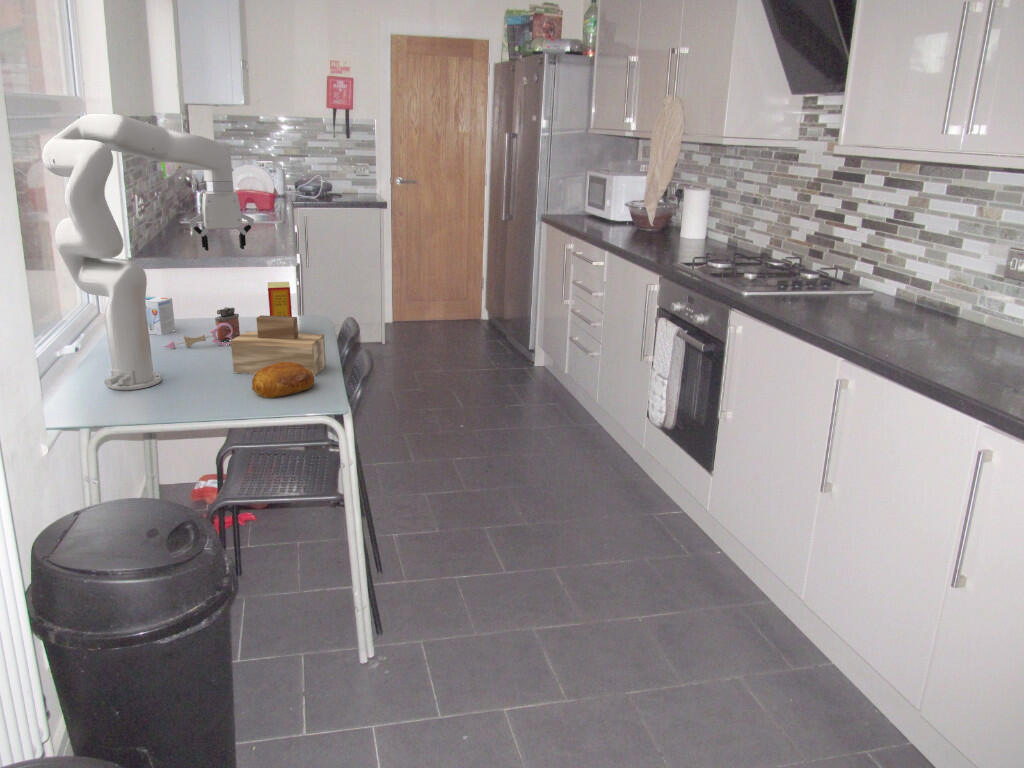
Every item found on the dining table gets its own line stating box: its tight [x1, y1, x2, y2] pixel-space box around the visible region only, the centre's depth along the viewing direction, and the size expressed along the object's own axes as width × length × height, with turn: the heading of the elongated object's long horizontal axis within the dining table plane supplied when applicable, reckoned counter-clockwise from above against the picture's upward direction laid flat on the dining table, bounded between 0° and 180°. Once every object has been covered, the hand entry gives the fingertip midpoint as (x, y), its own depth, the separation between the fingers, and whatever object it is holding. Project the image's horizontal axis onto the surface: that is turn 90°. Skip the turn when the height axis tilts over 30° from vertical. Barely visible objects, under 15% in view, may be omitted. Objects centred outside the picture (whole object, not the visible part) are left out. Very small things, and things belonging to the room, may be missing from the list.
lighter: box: [214, 307, 241, 342], centre depth 249 cm, size 8×3×10 cm, turn 149°
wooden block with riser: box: [230, 315, 325, 348], centre depth 218 cm, size 10×22×8 cm, turn 84°
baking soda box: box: [267, 281, 293, 317], centre depth 256 cm, size 10×6×16 cm
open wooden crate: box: [230, 338, 327, 378], centre depth 220 cm, size 10×22×8 cm, turn 84°
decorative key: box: [163, 323, 233, 349], centre depth 242 cm, size 7×1×20 cm
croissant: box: [251, 362, 315, 399], centre depth 205 cm, size 14×16×8 cm
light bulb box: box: [146, 295, 176, 336], centre depth 257 cm, size 11×7×11 cm, turn 73°
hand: (224, 249), depth 233 cm, fingers open, 9 cm apart
